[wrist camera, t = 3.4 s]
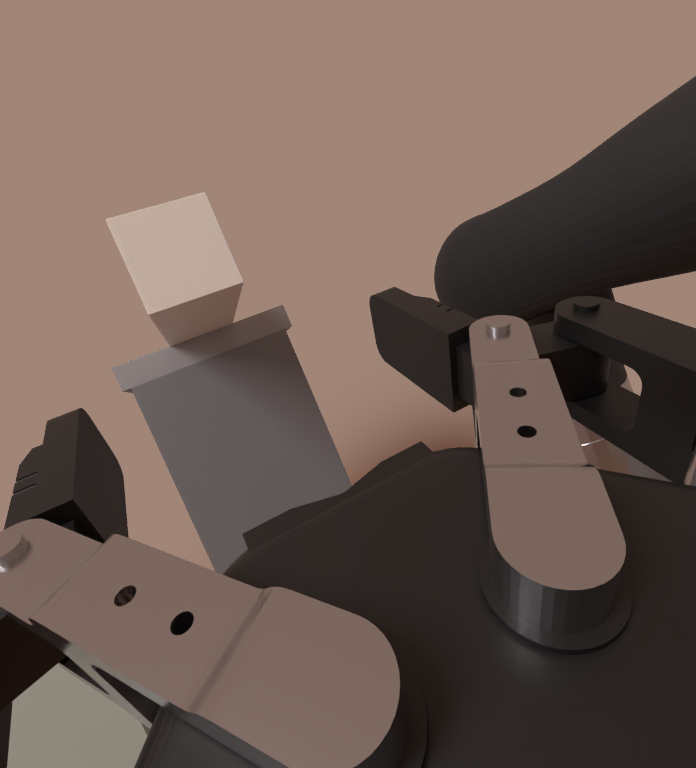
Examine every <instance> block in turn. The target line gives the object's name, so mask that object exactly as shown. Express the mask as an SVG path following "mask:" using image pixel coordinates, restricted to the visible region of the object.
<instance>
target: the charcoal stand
mask: <svg viewBox="0 0 696 768" xmlns="http://www.w3.org/2000/svg"><path fill="white" fill-rule="evenodd" d="M291 326H292V325H291V323H290V321H289V318H288V316H287V313H286V311H285V309H284V306H283V305H281V306H278V307H275V308H273V309H270V310H267V311H265V312H262V313H259V314H257V315H254V316H251V317H248V318H246V319H243V320H240V321H238V322H235V323H232V324H229V325H227V326H224V327H221V328H219V329H216V330H213V331H211V332H208V333H205V334H202V335H200V336H197V337H194V338H192V339H189V340H186V341H184V342H181V343H178V344H175V345H173V346H170V347H168V348H165V349H162V350H159V351H157V352H154V353H151V354H149V355H146V356H143V357H140V358H138V359H135V360H132V361H130V362H127V363H124V364H122V365H119V366H116V367H113V368H112V370H113V372H114V374H115V376H116V378H117V381H118V382H119V385H120V387H121V389H122V391H123V392H130V393H133V394H134V396H135V398H136V400H137V402H138V404H139V407H140V409H141V411H142V413H143V415H144V417H145V420H146V422H147V424H148V426H149V428H150V430H151V432H152V434H153V437H154V439H155V441H156V443H157V446H158V448H159V450H160V452H161V454H162V456H163V459H164V461H165V463H166V465H167V467H168V469H169V472H170V474H171V476H172V478H173V480H174V483H175V485H176V487H177V489H178V491H179V493H180V496H181V498H182V500H183V502H184V504H185V506H186V509H187V511H188V513H189V515H190V517H191V519H192V522H193V524H194V526H195V528H196V530H197V532H198V534H199V537H200V539H201V541H202V543H203V545H204V548H205V550H206V552H207V554H208V556H209V558H210V560H211V563H212V565H213V567H214V569H215V572H217V573H220V574H223V573H224V572H225V571H226V570H227V569H228V567H229V566H230V565H231V564H232V563H233V562H234V561H235V560H236V559H237V558H238V557H239V556H240V555H241V554H243V553H244V552H245V551H246V550H247V549H248V548H247V545H246V543H245V540H244V537H243V535H242V534H243V533H245V532H247V531H249V530H251V529H253V528H255V527H257V526H258V525H260V524H262V523H264V522H266V521H268V520H270V519H272V518H274V517H276V516H278V515H280V514H282V513H284V512H286V511H287V510H289V509H292V508H295V507H298V506H302V505H305V504H309V503H312V502H315V501H319V500H322V499H325V498H329V497H332V496H335V495H339V494H341V493H343V492H345V491H347V490H348V489H349V488H350V487H352V485H351V483H350V480H349V478H348V475H347V473H346V471H345V468H344V466H343V464H342V462H341V459H340V456H339V454H338V452H337V449H336V447H335V445H334V442H333V440H332V438H331V435H330V433H329V431H328V428H327V426H326V424H325V421H324V419H323V417H322V414H321V412H320V410H319V407H318V405H317V403H316V400H315V398H314V396H313V393H312V391H311V389H310V386H309V384H308V382H307V379H306V377H305V375H304V372H303V370H302V367H301V365H300V363H299V361H298V358H297V356H296V353H295V351H294V349H293V346H292V344H291V342H290V339H289V337H288V335H287V332H286V331H287V330H288V329H289V328H290V327H291Z"/></svg>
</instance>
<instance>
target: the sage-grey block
mask: <svg viewBox="0 0 696 768" xmlns="http://www.w3.org/2000/svg"><path fill="white" fill-rule="evenodd" d="M149 731H150V729H149V728H148V727H146V726H145V725H144V724H143V723H141V722H140V721H139V720H137V719H136V718H135V717H134V716H132V715H131V714H130V713H129V712H127V711H126V710H125V709H123V708H122V707H120V706H119V705H117V704H116V703H114V702H113V701H111V700H110V699H108V698H107V697H105V696H104V695H102V694H101V693H99V692H98V691H96V690H95V689H93V688H92V687H90V686H89V685H87V684H85V683H84V682H82V681H81V680H79V679H78V678H76V677H75V676H73V675H72V674H70V673H69V672H67V671H66V670H64V669H63V668H61V667H60V666H59V665H58V664H57V665H55V666H54V667H53V668H52V669H51V670H49V671H48V672H47V673H46V674H45V675H43V676H42V677H41V678H40V679H39V680H37V681H36V682H35V683H34V684H33V685H31V686H30V687H29V688H28V689H27V690H25V691H24V692H23V693H22V694H21V695H19V696H18V697H17V698H16V699H15V700H13V701H12V716H11V727H10V739H9V751H8V762H7V768H134V766H135V764H136V762H137V759H138V757H139V755H140V752H141V750H142V748H143V745H144V743H145V741H146V738H147V736H148V733H149Z"/></svg>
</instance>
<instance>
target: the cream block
mask: <svg viewBox="0 0 696 768" xmlns="http://www.w3.org/2000/svg"><path fill="white" fill-rule="evenodd" d="M105 220H106V222H107V224H108V226H109V229H110V231H111V233H112V235H113V238H114V240H115V242H116V244H117V246H118V248H119V251H120V253H121V255H122V257H123V260H124V262H125V264H126V266H127V269H128V271H129V273H130V275H131V277H132V280H133V282H134V284H135V286H136V289H137V291H138V293H139V295H140V297H141V300H142V301H143V304H144V306H145V308H146V311H147V313H148V315H149V316H150V318H151V319H152V321H153V322H154V323H155V325H156V326H157V328H158V329H159V331H160V332H161V334H162V335H163V336H164V338H165V339H166V341H167V342H168V344H169V345H170V346H173V345H175V344H178V343H181V342H184V341H186V340H189V339H192V338H194V337H197V336H200V335H202V334H205V333H208V332H211V331H213V330H216V329H219V328H221V327H224V326H227V325H229V324H232V323H233V320H234V316H235V312H236V308H237V304H238V301H239V297H240V293H241V289H242V286H243V280H242V278H241V275H240V273H239V271H238V268H237V266H236V264H235V262H234V259H233V257H232V255H231V252H230V250H229V248H228V246H227V243H226V241H225V238H224V236H223V234H222V231H221V229H220V227H219V225H218V222H217V220H216V218H215V215H214V213H213V211H212V208H211V206H210V204H209V201H208V199H207V196H206V194H205V192H203V193H199V194H195V195H192V196H188V197H184V198H181V199H177V200H173V201H170V202H166V203H163V204H159V205H156V206H152V207H148V208H144V209H141V210H137V211H133V212H130V213H126V214H123V215H119V216H115V217H112V218H108V219H105Z"/></svg>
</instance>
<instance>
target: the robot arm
mask: <svg viewBox="0 0 696 768" xmlns="http://www.w3.org/2000/svg"><path fill="white" fill-rule="evenodd" d="M693 271H696V76H695V77H694V78H692V79H691V80H689V81H688V82H687V83H685V84H684V85H682V86H681V87H680V88H678V89H677V90H675V91H674V92H672V93H671V94H670V95H668V96H667V97H665V98H664V99H663V100H661V101H660V102H658V103H657V104H655V105H654V106H653V107H651V108H650V109H648V110H647V111H646V112H644V113H643V114H641V115H640V116H638V117H637V118H636V119H634V120H633V121H632V122H630V123H629V124H628V125H626V126H625V127H624V128H622V129H621V130H620V131H618V132H617V133H615V134H614V135H613V136H611V137H610V138H609V139H607V140H606V141H605V142H603V143H602V144H601V145H599V146H598V147H597V148H596V149H594V150H593V151H592V152H590V153H589V154H588V155H586V156H585V157H583V158H582V159H581V160H579V161H578V162H576V163H575V164H574V165H572V166H571V167H569V168H568V169H566V170H565V171H563V172H562V173H560V174H558V175H557V176H555V177H554V178H552V179H550V180H548V181H547V182H545V183H543V184H541V185H540V186H538V187H536V188H534V189H532V190H531V191H529V192H527V193H525V194H523V195H521V196H519V197H517V198H515V199H513V200H511V201H509V202H507V203H505V204H503V205H501V206H499V207H497V208H495V209H493V210H490V211H489V212H486V213H484V214H482V215H478V216H475V217H474V218H471V219H469V220H467V221H465V222H464V223H462V224H461V225H459V226H458V227H457V228H456V229H455V230H453V231H452V233H451V234H450V235H449V236H448V237H447V239H446V240H445V242H444V244H443V246H442V247H441V250H440V252H439V254H438V257H437V261H436V265H435V275H434V281H435V289H436V293H437V296H438V299H439V301H440V302H438V301H435V300H434V299H431V298H426V297H419V296H413V295H411V294H409V293H406V292H404V291H402V290H400V289H398V288H396V287H393V288H390V289H388V290H385V291H383V292H380V293H377V294H375V295H372V296H371V297H370V310H371V316H372V322H373V327H374V333H375V339H376V344H377V348H378V350H379V353H380V355H381V356H382V358H383V359H384V361H386V362H387V363H388V364H389V365H391V366H392V367H393V368H395V369H396V370H397V371H399V372H400V373H401V374H403V375H404V376H405V377H407V378H408V379H410V380H411V381H412V382H413V383H415V384H416V385H417V386H419V387H420V388H421V389H423V390H424V391H425V392H427V393H428V394H430V395H431V396H432V397H434V398H435V399H436V400H438V401H439V402H441V403H442V404H443V405H445V406H446V407H447V408H448V409H450V410H451V411H452V412H456V411H458V410H460V409H462V408H464V407H466V406H468V405H472V410H473V426H474V438H475V448H470V447H468V448H467V447H466V448H465V447H464V448H449V449H443V450H438V451H434V452H432V451H431V450H430V449H429V448H428V447H427V446H426V445H425V444H424V443H422V442H419V443H417V444H415V445H413V446H411V447H409V448H407V449H405V450H403V451H401V452H400V453H398V454H396V455H394V456H392V457H390V458H388V459H386V460H384V461H382V462H381V463H379V464H378V465H377V466H376V467H375V468H373V469H372V470H371V471H370V472H369V473H367V474H366V475H365V476H364V477H362V478H361V479H360V480H359V481H358V482H356V483H355V484H354V485H353V486H352V487H350V488H349V489H348V490H347V491H345V492H343V493H341V494H339V495H335V496H332V497H329V498H325V499H322V500H319V501H315V502H312V503H309V504H305V505H302V506H298V507H295V508H292V509H289V510H287V511H286V512H284V513H282V514H280V515H278V516H276V517H274V518H272V519H270V520H268V521H266V522H264V523H262V524H260V525H258V526H257V527H255V528H253V529H251V530H249V531H247V532H245V533H243V534H242V535H243V537H244V540H245V543H246V545H247V548H248V549H247V550H246V551H245V552H244V553H243V554H241V555H240V556H239V557H238V558H237V559H236V560H235V561H234V562H233V563H232V564H231V565H230V566H229V567H228V569H227V570H226V571H225V572H224V573H223V574H220V573H217V572H214V571H212V570H209V569H207V568H204V567H202V566H199V565H196V564H194V563H191V562H189V561H186V560H184V559H181V558H178V557H176V556H173V555H171V554H168V553H165V552H163V551H160V550H158V549H155V548H153V547H150V546H148V545H145V544H142V543H140V542H137V541H135V540H132V539H130V538H128V527H127V515H126V503H125V492H124V479H123V473H122V470H121V468H120V465H119V463H118V461H117V459H116V457H115V455H114V454H113V452H112V450H111V449H110V447H109V446H108V444H107V443H106V441H105V440H104V438H103V437H102V435H101V434H100V432H99V431H98V429H97V427H96V426H95V424H94V423H93V421H92V420H91V418H90V417H89V415H88V414H87V412H86V411H85V410H84V409H82V408H80V409H77V410H74V411H71V412H69V413H66V414H64V415H61V416H59V417H56V418H53V419H51V420H48V421H47V425H46V430H45V435H44V441H43V445H40V446H38V447H35V448H33V449H32V450H31V451H30V452H29V454H28V455H27V456H26V457H25V459H24V460H23V461H22V463H21V464H20V465H19V469H18V473H17V477H16V481H17V483H15V486H14V490H13V494H14V495H13V496H12V498H11V502H10V506H9V510H8V515H7V519H6V523H5V527H4V530H3V531H2V532H0V768H7V762H8V751H9V739H10V727H11V716H12V701H13V700H15V699H16V698H17V697H18V696H19V695H21V694H22V693H23V692H24V691H25V690H27V689H28V688H29V687H30V686H31V685H33V684H34V683H35V682H36V681H37V680H39V679H40V678H41V677H42V676H43V675H45V674H46V673H47V672H48V671H49V670H51V669H52V668H53V667H54V666H55V665H57V664H58V665H59V666H60V667H61V668H63V669H64V670H66V671H67V672H69V673H70V674H72V675H73V676H75V677H76V678H78V679H79V680H81V681H82V682H84V683H85V684H87V685H89V686H90V687H92V688H93V689H95V690H96V691H98V692H99V693H101V694H102V695H104V696H105V697H107V698H108V699H110V700H111V701H113V702H114V703H116V704H117V705H119V706H120V707H122V708H123V709H125V710H126V711H127V712H129V713H130V714H131V715H132V716H134V717H135V718H136V719H137V720H139V721H140V722H141V723H143V724H144V725H145V726H146V727H148V728H149V729H150V731H149V733H148V736H147V738H146V741H145V743H144V745H143V748H142V750H141V752H140V755H139V757H138V759H137V762H136V764H135V766H134V768H696V328H693V327H690V326H686V325H684V324H681V323H678V322H674V321H671V320H668V319H665V318H663V317H660V316H657V315H654V314H651V313H648V312H645V311H642V310H639V309H636V308H633V307H630V306H627V305H624V304H621V303H618V302H615V299H614V296H613V292H612V289H611V288H615V287H620V286H624V285H629V284H633V283H639V282H644V281H648V280H654V279H659V278H664V277H669V276H673V275H679V274H684V273H689V272H693ZM624 365H626V366H628V367H630V368H632V369H633V370H635V371H636V372H637V374H638V375H639V376H640V378H641V381H642V391H641V396H639V395H637V394H635V393H633V391H632V388H631V385H630V382H629V380H628V377H627V373H626V370H625V368H624Z"/></svg>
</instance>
